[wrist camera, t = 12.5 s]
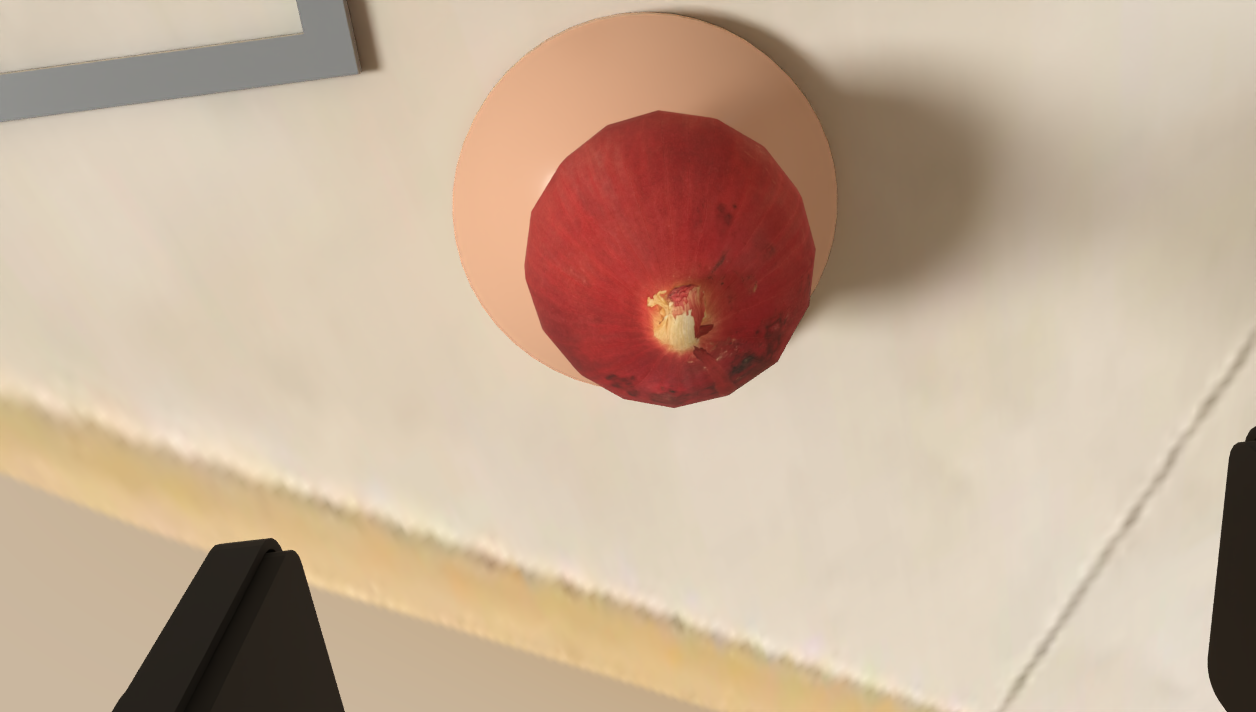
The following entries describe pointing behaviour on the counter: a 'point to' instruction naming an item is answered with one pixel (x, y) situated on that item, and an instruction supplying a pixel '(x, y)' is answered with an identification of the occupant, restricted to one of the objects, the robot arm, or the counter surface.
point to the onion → (670, 259)
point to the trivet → (605, 94)
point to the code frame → (190, 69)
